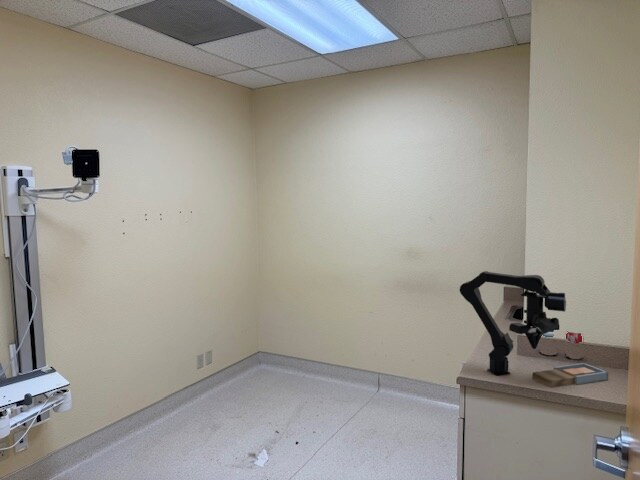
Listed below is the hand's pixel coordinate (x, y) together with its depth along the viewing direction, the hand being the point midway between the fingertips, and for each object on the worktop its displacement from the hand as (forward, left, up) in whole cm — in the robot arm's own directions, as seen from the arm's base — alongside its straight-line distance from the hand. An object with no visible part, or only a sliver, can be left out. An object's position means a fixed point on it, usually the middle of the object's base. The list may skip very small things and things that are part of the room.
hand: (534, 348), depth 169 cm
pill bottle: (+28, +22, -12) cm, 38 cm away
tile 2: (+20, -4, -12) cm, 24 cm away
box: (+18, -4, -12) cm, 22 cm away
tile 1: (+15, -4, -12) cm, 19 cm away
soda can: (+34, +14, -12) cm, 39 cm away
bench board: (+5, -4, -12) cm, 14 cm away
